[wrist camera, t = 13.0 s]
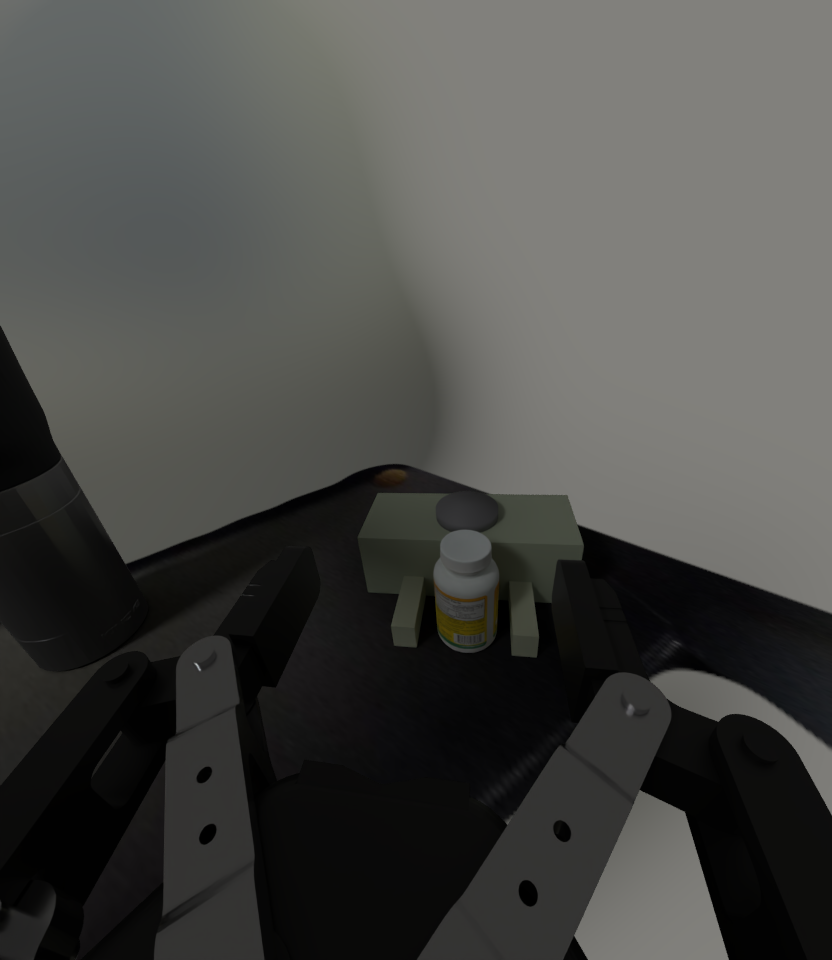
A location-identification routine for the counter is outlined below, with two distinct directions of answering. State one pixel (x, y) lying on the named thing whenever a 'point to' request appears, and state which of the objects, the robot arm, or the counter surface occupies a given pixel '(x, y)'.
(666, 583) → the counter surface
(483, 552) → the supplement bottle
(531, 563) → the olive footed block
